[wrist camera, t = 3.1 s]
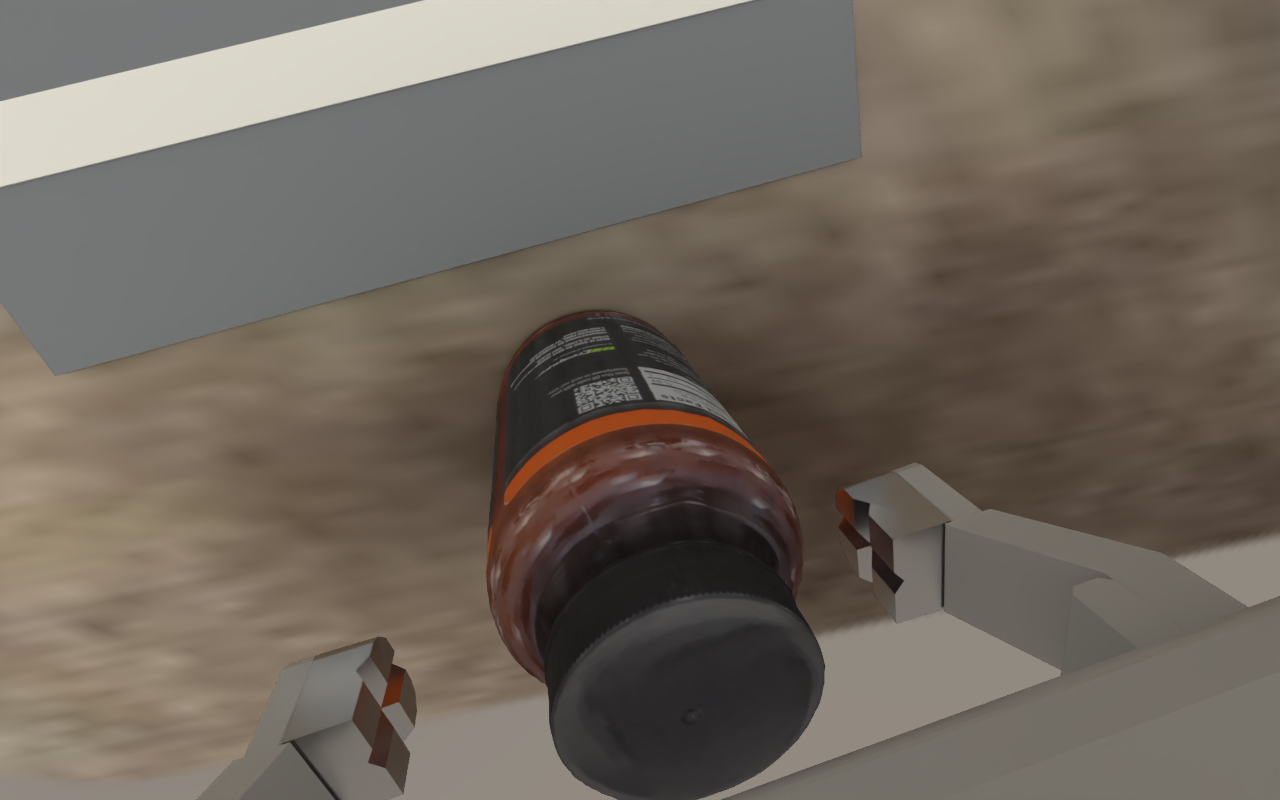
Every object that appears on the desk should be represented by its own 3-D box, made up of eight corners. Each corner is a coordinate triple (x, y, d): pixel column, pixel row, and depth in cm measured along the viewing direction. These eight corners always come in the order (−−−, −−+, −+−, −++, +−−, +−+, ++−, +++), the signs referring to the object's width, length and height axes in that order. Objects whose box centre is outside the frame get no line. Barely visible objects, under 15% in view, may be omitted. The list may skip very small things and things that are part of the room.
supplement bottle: (589, 511, 20) (659, 899, 10) (455, 396, 17) (360, 756, 7) (724, 398, 19) (957, 691, 9) (604, 261, 17) (735, 449, 6)
